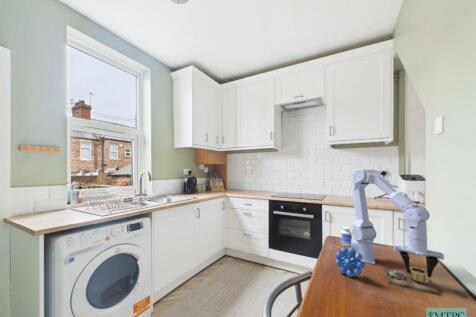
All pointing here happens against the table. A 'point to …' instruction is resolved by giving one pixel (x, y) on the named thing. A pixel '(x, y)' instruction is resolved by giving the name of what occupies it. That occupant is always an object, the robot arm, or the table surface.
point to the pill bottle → (346, 236)
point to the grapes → (349, 261)
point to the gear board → (408, 281)
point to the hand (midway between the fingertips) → (418, 273)
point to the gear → (419, 274)
